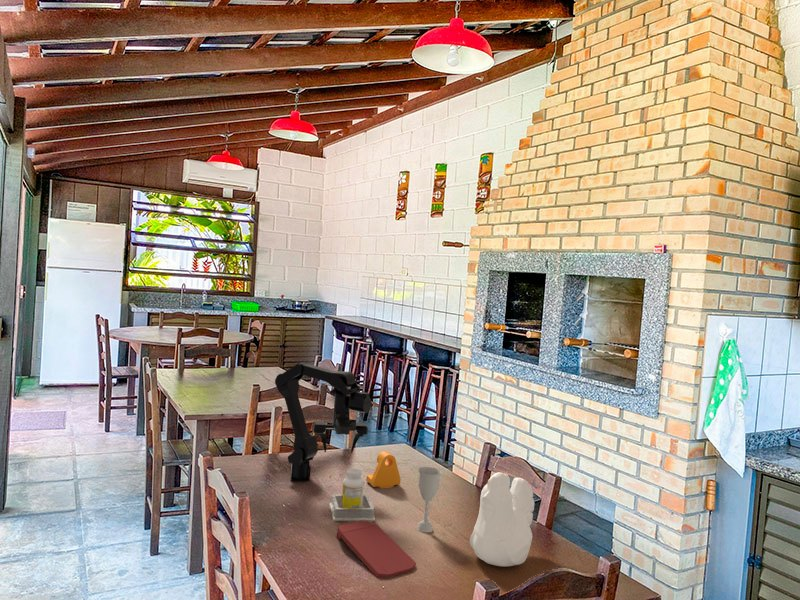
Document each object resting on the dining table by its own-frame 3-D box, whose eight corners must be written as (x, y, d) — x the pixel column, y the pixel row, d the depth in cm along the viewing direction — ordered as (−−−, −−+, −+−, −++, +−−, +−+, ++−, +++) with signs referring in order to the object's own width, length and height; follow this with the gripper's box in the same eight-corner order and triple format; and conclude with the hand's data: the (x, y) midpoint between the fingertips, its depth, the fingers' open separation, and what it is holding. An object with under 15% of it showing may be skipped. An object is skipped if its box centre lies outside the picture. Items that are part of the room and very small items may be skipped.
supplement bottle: (346, 505, 189) (349, 466, 189) (365, 509, 187) (368, 470, 186) (337, 512, 183) (340, 471, 182) (356, 516, 180) (359, 476, 180)
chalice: (439, 527, 180) (444, 469, 179) (433, 535, 173) (438, 476, 173) (416, 522, 182) (421, 465, 181) (410, 530, 176) (415, 471, 175)
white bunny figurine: (495, 581, 149) (505, 486, 149) (455, 554, 162) (463, 467, 161) (558, 560, 164) (567, 474, 163) (517, 538, 177) (524, 457, 176)
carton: (415, 582, 153) (365, 531, 173) (419, 565, 152) (368, 515, 172) (377, 594, 146) (330, 539, 165) (381, 576, 145) (332, 523, 165)
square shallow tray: (333, 521, 177) (334, 509, 177) (329, 504, 190) (330, 493, 190) (375, 521, 180) (376, 509, 180) (368, 504, 192) (369, 494, 192)
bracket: (391, 479, 219) (394, 448, 219) (400, 486, 212) (402, 454, 212) (365, 481, 214) (368, 449, 214) (373, 488, 208) (376, 455, 207)
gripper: (317, 412, 194) (313, 458, 194) (372, 414, 198) (368, 459, 198) (314, 405, 205) (310, 448, 205) (366, 407, 209) (363, 450, 209)
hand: (338, 452), depth 204 cm, fingers open, 9 cm apart
